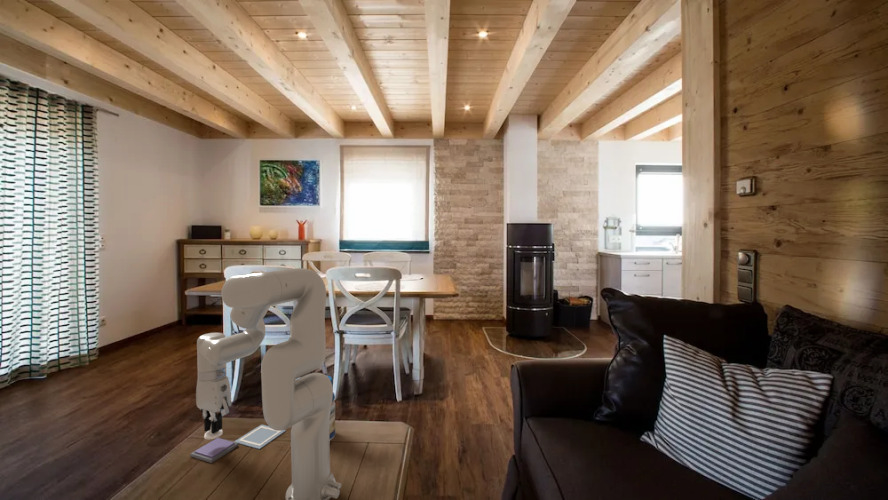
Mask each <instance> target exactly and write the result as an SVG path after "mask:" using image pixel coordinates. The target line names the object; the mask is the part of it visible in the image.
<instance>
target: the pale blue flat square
mask: <svg viewBox="0 0 888 500" xmlns="http://www.w3.org/2000/svg"><path fill="white" fill-rule="evenodd" d="M286 431H287V429H285V430H281V431H277V430H273V429H272V428H270V427H269V426H268V425H266V424H259V426H256V427H255V428H253V429H252V430H250V431H249V432H247V433H245V434H244V435H242V436H241V437H239V438H237V439H236V440H234V441H233V442H236V443H238V445H241V446H247V447H249V448H254V449H255V450H261V449H262V448H264V447H265V446H266V445H268V444H269V443H271V442H272V441H274V440H275V439H277V438H278V437H280V436H282V434H284V433H285V432H286Z"/></svg>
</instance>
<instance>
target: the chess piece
mask: <svg viewBox="0 0 888 500" xmlns="http://www.w3.org/2000/svg"><path fill="white" fill-rule="evenodd" d="M209 413H210V415H211V417H210V418H209V420H211V421H213V415H212V411H209ZM223 434H224V432H223V428H222V429H221V430H219V431H218V432H216V433H214V434H212V432H211V428H210V430H209V431H207V432H206V431H205V433H204V436H203V438H204V439H205V440H208V441H209V440H215V439H216V438H220V437H221V436H222V435H223Z"/></svg>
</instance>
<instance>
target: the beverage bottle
mask: <svg viewBox="0 0 888 500" xmlns="http://www.w3.org/2000/svg"><path fill="white" fill-rule="evenodd" d="M326 376H327V377H328V378H329V379H330V381H331V383H332V387H333V386H334V385H333V377H332V376H330V375H326ZM335 399H336V396H335V393H334V392H333V397H332V403H331V408H330V419H329V438H330V441H331V440H333V439H334V438H335V436H336V402H335Z"/></svg>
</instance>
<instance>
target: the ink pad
mask: <svg viewBox="0 0 888 500" xmlns="http://www.w3.org/2000/svg"><path fill="white" fill-rule="evenodd" d="M237 447H239V444H238V443H236V442H234V441H233V440H229V439H226V438H225V439H224V438H221V437H217V438H215V439H212V440H211V441H210V442H208V443H206V444H204V445H203V446H201V447H199V448H197V449H196V450H194V451H192V452H190V455H189V457H191V458H194V459H197V460H199V461H203V462H206V463H210V464H212V463H214V462H215V461H217V460H219V459H221V458H222V457H224V456H225V455H226V454H228V453H229V452H231V451H233V450H234V449H235V448H237Z"/></svg>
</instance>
